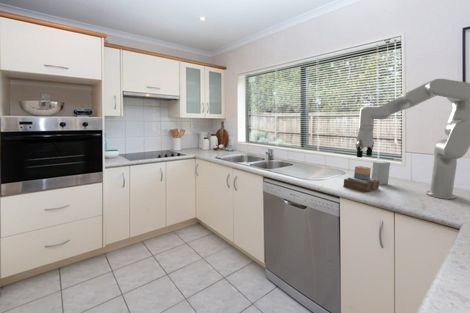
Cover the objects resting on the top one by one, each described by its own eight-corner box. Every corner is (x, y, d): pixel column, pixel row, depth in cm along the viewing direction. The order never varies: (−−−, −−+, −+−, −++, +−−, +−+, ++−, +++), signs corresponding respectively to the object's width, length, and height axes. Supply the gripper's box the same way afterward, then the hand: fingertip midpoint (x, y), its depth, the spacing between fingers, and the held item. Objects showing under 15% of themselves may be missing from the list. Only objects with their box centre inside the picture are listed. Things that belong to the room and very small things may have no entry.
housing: (358, 176, 155) (359, 166, 154) (369, 179, 149) (370, 168, 148) (354, 177, 153) (354, 166, 152) (364, 180, 147) (365, 168, 146)
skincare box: (381, 182, 167) (383, 160, 164) (388, 184, 161) (390, 162, 159) (370, 182, 165) (372, 161, 163) (377, 185, 159) (379, 162, 157)
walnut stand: (356, 183, 162) (357, 175, 161) (378, 189, 150) (379, 179, 149) (343, 186, 154) (344, 177, 154) (365, 192, 143) (365, 182, 142)
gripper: (368, 127, 154) (366, 154, 157) (351, 128, 145) (349, 157, 148) (380, 128, 148) (378, 156, 150) (363, 128, 139) (361, 158, 141)
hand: (364, 156), depth 149 cm, fingers open, 9 cm apart
